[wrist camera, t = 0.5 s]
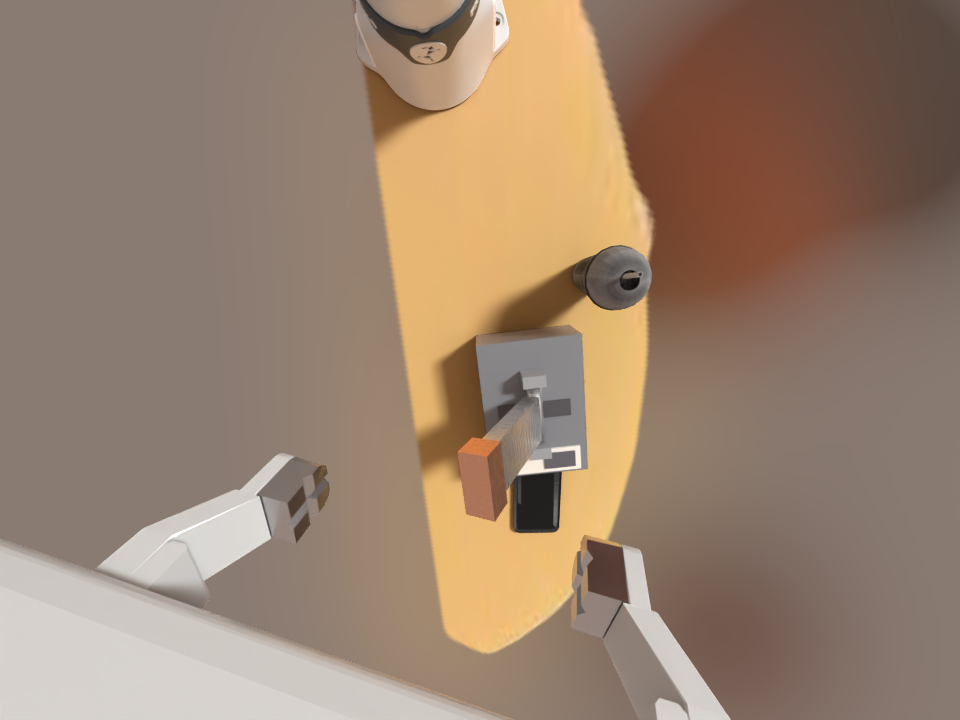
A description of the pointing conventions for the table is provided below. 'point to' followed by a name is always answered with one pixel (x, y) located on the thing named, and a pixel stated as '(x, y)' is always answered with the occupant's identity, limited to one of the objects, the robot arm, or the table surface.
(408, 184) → the table surface
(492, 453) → the lever
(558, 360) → the switch box
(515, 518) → the phone
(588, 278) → the beverage cup
